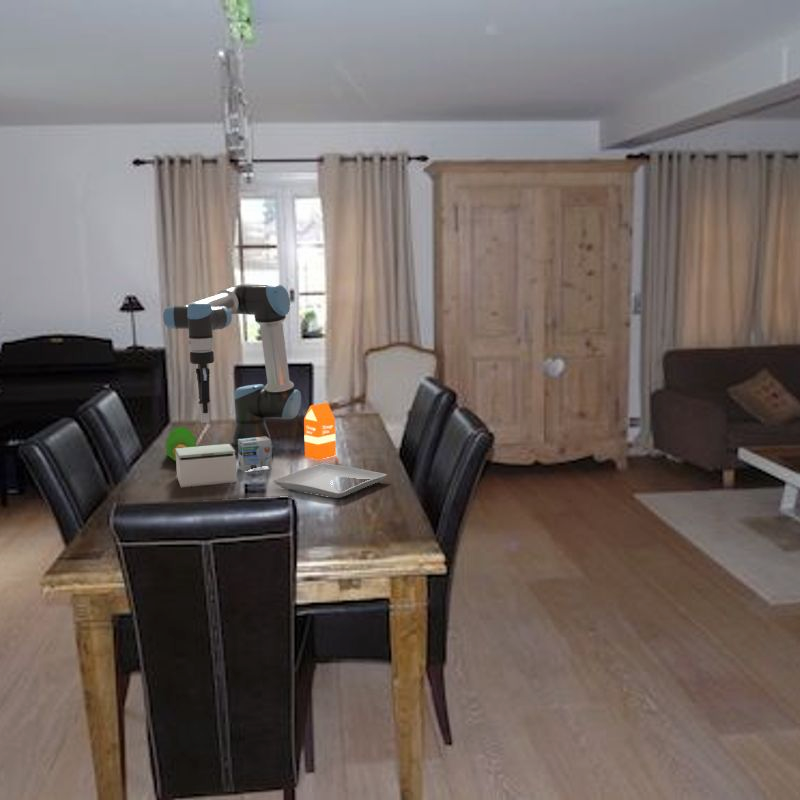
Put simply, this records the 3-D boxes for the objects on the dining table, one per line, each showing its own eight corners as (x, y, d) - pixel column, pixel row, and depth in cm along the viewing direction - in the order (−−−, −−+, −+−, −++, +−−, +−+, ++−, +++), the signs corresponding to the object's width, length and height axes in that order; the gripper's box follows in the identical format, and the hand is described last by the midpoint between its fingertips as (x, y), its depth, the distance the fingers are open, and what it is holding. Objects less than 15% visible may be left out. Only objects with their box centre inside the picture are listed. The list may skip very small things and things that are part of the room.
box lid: (229, 446, 281) (228, 443, 281) (235, 453, 268) (235, 450, 268) (175, 450, 275) (175, 448, 275) (179, 458, 262) (179, 455, 261)
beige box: (230, 471, 282) (229, 446, 281) (236, 482, 270) (235, 455, 268) (176, 476, 276) (175, 451, 275) (180, 487, 263) (179, 460, 262)
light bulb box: (243, 473, 281) (242, 442, 279) (237, 468, 287) (236, 438, 285) (273, 469, 286) (272, 439, 284) (266, 465, 292) (265, 435, 290)
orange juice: (336, 456, 304) (335, 403, 301) (318, 460, 298) (317, 406, 294) (322, 452, 309) (321, 401, 306) (304, 456, 303) (303, 404, 300)
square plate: (340, 504, 246) (339, 492, 245) (271, 491, 260) (270, 479, 260) (388, 483, 268) (388, 472, 268) (322, 472, 283) (322, 461, 282)
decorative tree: (171, 433, 288) (172, 414, 316) (160, 462, 289) (161, 441, 317) (202, 443, 291) (200, 423, 320) (191, 472, 292) (190, 450, 321)
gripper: (187, 349, 266) (191, 419, 271) (191, 353, 254) (196, 427, 259) (210, 348, 269) (214, 417, 273) (216, 352, 257) (219, 425, 261)
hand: (205, 422), depth 266 cm, fingers closed
